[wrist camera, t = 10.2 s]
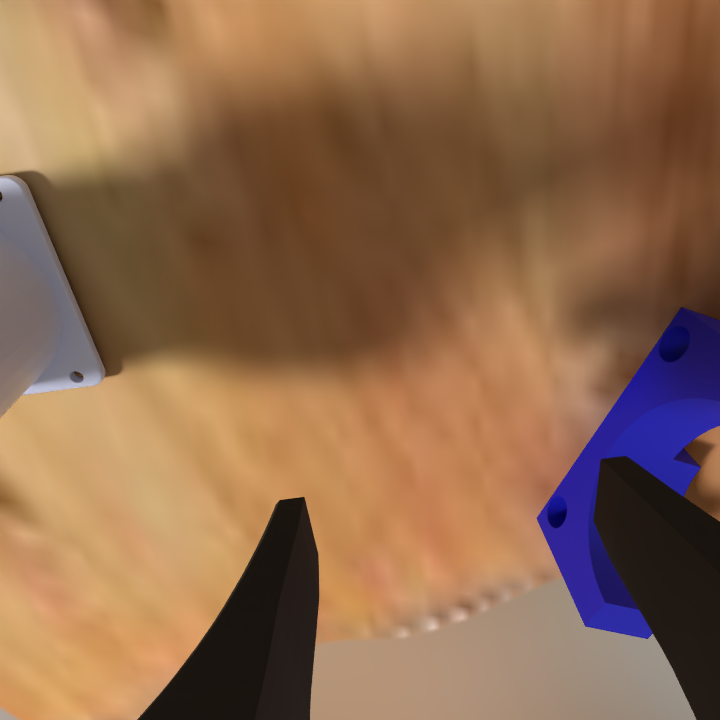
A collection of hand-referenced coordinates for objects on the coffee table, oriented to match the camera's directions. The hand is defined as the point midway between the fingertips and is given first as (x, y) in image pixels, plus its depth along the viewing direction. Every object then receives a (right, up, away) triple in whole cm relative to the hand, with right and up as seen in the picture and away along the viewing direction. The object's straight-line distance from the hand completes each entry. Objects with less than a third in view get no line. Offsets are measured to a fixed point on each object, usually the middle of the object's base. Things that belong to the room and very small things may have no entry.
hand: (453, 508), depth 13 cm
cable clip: (+11, 0, +12) cm, 16 cm away
